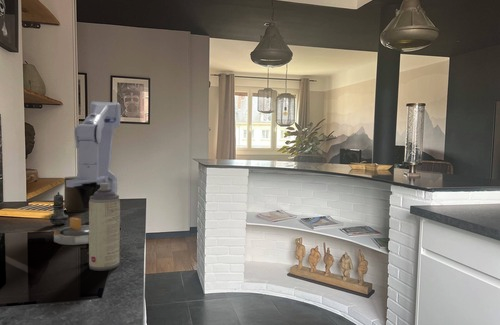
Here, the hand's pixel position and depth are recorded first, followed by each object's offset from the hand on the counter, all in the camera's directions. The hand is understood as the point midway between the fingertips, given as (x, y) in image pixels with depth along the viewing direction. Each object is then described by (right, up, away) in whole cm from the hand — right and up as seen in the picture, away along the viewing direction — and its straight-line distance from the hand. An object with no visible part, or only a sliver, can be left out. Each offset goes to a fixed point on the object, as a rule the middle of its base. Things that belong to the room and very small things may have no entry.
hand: (88, 208), depth 109 cm
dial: (-1, -8, -3) cm, 9 cm away
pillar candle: (-22, -6, +38) cm, 45 cm away
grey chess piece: (-15, -8, +11) cm, 20 cm away
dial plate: (-1, -9, -3) cm, 10 cm away
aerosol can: (+14, -11, -23) cm, 29 cm away
